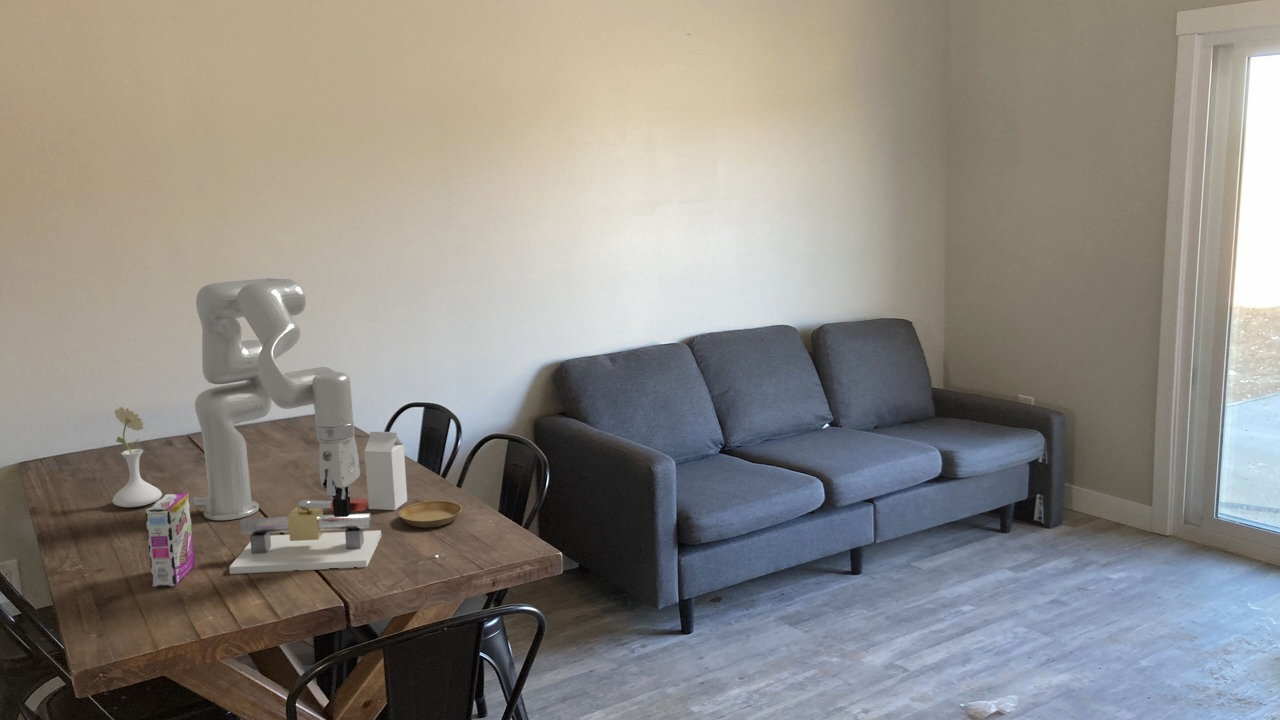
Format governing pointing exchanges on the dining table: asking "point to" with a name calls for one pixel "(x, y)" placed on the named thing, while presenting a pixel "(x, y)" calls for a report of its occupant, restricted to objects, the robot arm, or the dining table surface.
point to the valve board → (307, 554)
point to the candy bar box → (170, 540)
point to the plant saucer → (430, 513)
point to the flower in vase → (133, 468)
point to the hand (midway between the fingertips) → (342, 515)
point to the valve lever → (355, 504)
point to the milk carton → (385, 471)
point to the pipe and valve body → (305, 527)
